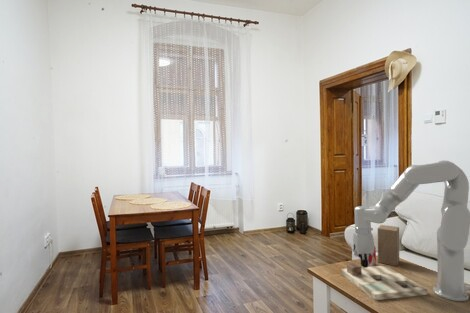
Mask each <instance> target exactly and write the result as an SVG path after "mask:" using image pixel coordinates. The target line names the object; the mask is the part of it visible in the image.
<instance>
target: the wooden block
mask: <svg viewBox="0 0 470 313" xmlns="http://www.w3.org/2000/svg"><path fill="white" fill-rule="evenodd" d="M377 262H378V263H380V264H384V265H390V266H393V267H394V266H396V267H397V266H398V265H399V262H400V227H399V226H393V225H385V224H380V225H379V226H378V227H377Z"/></svg>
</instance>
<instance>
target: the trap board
mask: <svg viewBox="0 0 470 313" xmlns="http://www.w3.org/2000/svg"><path fill="white" fill-rule="evenodd" d="M361 270H362V275H354V276H352V275H351V274H350V273H348V272H347V268H341V269H340V275H342V276H345V277H344V278H345V279H347V280H348V281H349V282H351V283H352V284H353V285H354V286H356V287H357V288H358V289H360V290H361V292H364V293H365V294H366V295H367V296H369V297H370V298H371V299H373V300H374V301H379V300H380V301H381V300H389V299H399V298H407V297H408V298H410V297H417V296H426V295H427V296H428V288H426V287H424V286H423V285H421V284H419V283H418V282H416V281H414V280H412V279H410V278H408V277H407V276H405V275H403V274H401V273H399V272H398V271H397V270H395V269H393V268H391V267H389V266H387V265H386V264H384V265H382V264H381V265H374V266H368V267H366V268H364V267H363V266H361Z"/></svg>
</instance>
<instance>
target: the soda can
mask: <svg viewBox="0 0 470 313" xmlns="http://www.w3.org/2000/svg"><path fill="white" fill-rule="evenodd" d="M374 248H375V250H374V254H373V255H370V257H369V259H368V267H370V266H377V265H376V264H377V254H376V253H377V249H376V246H375V245H374Z"/></svg>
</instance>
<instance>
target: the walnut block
mask: <svg viewBox="0 0 470 313" xmlns="http://www.w3.org/2000/svg"><path fill="white" fill-rule="evenodd" d="M361 267H362V266H361V265H360V264H358V263H356V262H355V263H354V262H353V263H346V269H347V272H348V273H350V274H351V275H352V276H354V275H362V270H361Z"/></svg>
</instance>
